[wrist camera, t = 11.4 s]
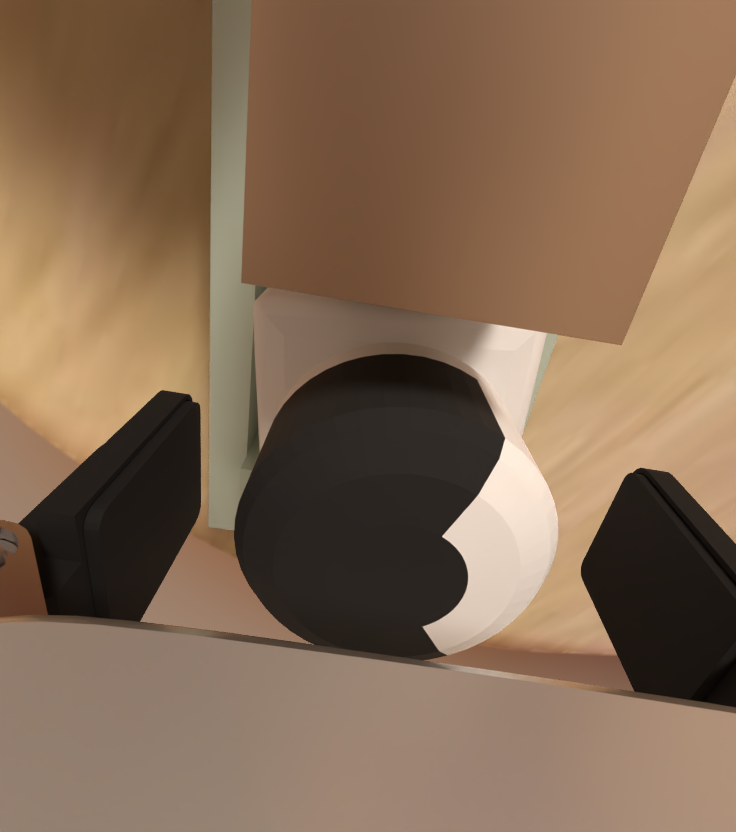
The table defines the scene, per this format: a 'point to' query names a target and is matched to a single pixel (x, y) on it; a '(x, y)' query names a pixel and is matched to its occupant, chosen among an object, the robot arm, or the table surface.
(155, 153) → the table surface
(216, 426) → the pale green rimmed tray
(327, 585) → the medicine bottle
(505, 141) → the fitted walnut block
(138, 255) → the table surface
